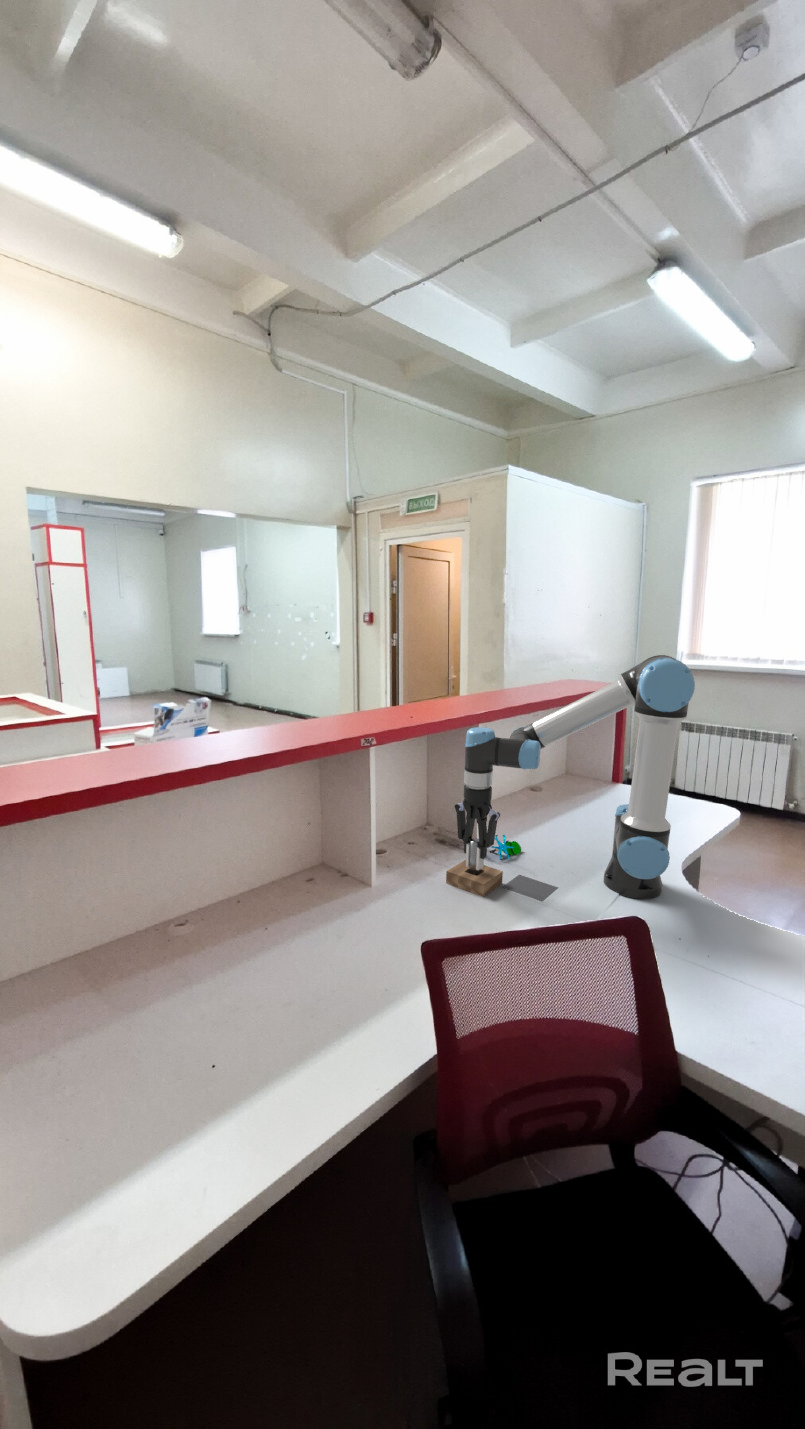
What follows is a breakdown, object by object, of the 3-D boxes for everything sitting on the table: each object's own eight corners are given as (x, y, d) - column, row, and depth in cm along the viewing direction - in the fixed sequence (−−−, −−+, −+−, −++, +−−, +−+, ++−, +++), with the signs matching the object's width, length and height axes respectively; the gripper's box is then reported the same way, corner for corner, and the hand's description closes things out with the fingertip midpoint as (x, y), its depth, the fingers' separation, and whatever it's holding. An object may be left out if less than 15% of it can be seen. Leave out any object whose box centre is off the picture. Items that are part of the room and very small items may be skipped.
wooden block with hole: (502, 884, 162) (502, 871, 162) (483, 898, 155) (483, 884, 154) (465, 872, 170) (466, 859, 169) (446, 884, 162) (446, 870, 162)
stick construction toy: (498, 857, 175) (494, 832, 178) (482, 863, 179) (478, 839, 183) (526, 860, 181) (521, 835, 185) (510, 865, 186) (505, 841, 190)
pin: (481, 880, 162) (483, 840, 160) (475, 884, 160) (477, 843, 158) (472, 877, 164) (473, 837, 162) (466, 881, 162) (468, 840, 160)
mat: (558, 888, 161) (558, 887, 160) (542, 902, 153) (542, 901, 153) (519, 875, 168) (519, 874, 168) (501, 888, 160) (501, 887, 160)
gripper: (510, 787, 155) (506, 870, 159) (461, 776, 165) (458, 854, 169) (496, 794, 149) (492, 880, 154) (446, 782, 159) (443, 863, 163)
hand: (474, 866), depth 161 cm, fingers closed on pin, 3 cm apart
